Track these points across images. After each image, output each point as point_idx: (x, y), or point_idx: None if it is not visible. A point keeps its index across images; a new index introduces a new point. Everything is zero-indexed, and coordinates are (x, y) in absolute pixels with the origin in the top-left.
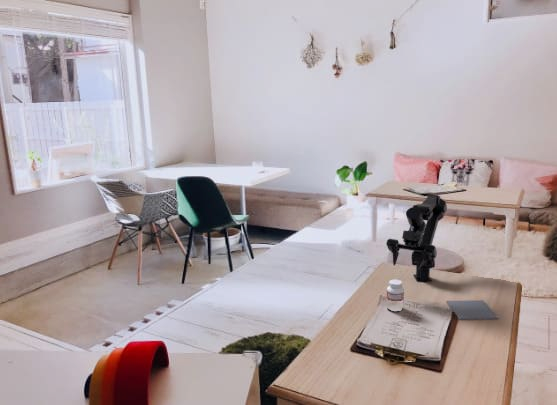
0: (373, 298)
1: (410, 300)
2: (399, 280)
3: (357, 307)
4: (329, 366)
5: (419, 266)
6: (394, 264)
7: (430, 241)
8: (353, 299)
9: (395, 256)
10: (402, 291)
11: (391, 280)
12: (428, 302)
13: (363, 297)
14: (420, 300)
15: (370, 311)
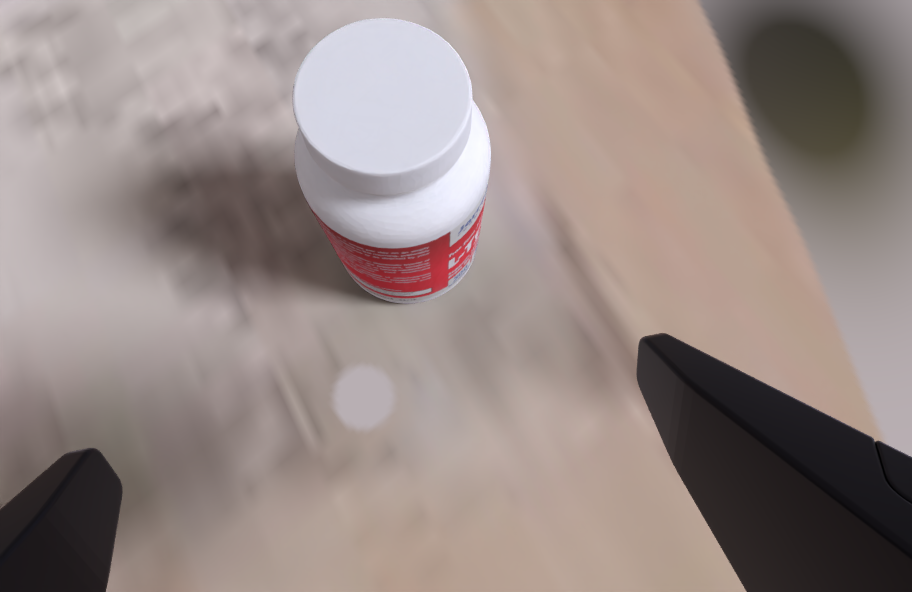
0: (658, 294)
1: (382, 482)
2: (363, 164)
3: (645, 84)
4: None
5: (14, 517)
6: (642, 355)
7: None
8: (762, 172)
9: (786, 457)
10: (295, 146)
11: (456, 100)
12: (222, 562)
13: (731, 255)
14: (305, 550)
15: (532, 91)
